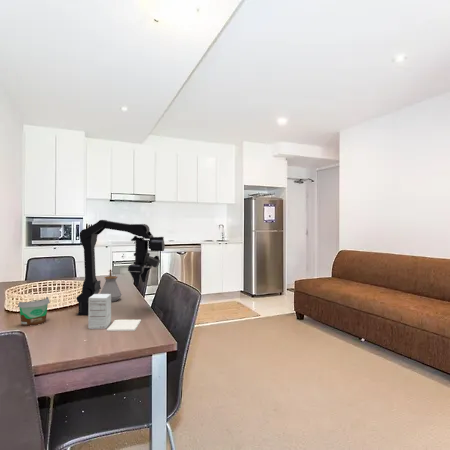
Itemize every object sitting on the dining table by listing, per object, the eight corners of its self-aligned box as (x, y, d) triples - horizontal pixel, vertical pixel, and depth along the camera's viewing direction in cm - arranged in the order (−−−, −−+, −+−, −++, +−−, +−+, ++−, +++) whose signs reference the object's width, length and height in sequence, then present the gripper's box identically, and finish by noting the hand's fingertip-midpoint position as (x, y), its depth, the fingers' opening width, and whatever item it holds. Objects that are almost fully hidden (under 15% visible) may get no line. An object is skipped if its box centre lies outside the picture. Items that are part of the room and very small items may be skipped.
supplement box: (93, 323, 136) (93, 293, 136) (111, 323, 137) (111, 293, 137) (87, 329, 129) (87, 297, 129) (106, 328, 130) (106, 297, 130)
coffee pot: (121, 302, 173) (122, 274, 173) (98, 303, 169) (99, 275, 169) (120, 293, 193) (120, 268, 193) (100, 295, 189) (100, 269, 189)
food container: (25, 329, 128) (25, 304, 128) (17, 326, 132) (17, 301, 131) (55, 321, 139) (55, 298, 139) (47, 318, 142) (47, 296, 142)
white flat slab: (106, 331, 127) (106, 329, 127) (115, 321, 140) (115, 319, 140) (134, 330, 128) (134, 329, 128) (141, 320, 141) (141, 319, 141)
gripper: (153, 253, 141) (152, 288, 141) (163, 249, 160) (162, 281, 160) (128, 252, 142) (127, 287, 142) (141, 248, 160) (140, 280, 160)
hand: (140, 284), depth 151 cm, fingers open, 9 cm apart
